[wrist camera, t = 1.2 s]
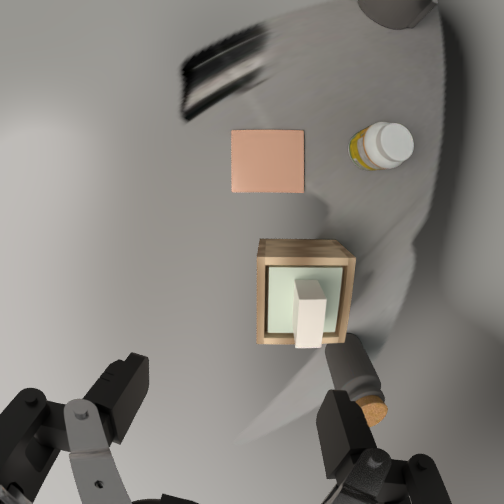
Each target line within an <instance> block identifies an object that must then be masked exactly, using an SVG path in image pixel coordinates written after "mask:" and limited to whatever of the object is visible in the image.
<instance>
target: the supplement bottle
mask: <svg viewBox="0 0 504 504" xmlns="http://www.w3.org/2000/svg"><path fill="white" fill-rule="evenodd" d="M413 149H414V142H413V138H412V135H411V134H410V132H409V131H408V129H407V128H406V127H404V126H403V125H401V124H398V123H388V122H378V123H375V124H373V125H371V126H369V127H367V128H365V129H363V130H362V131H360V132H358V133H356V134H355V135H354V136H353V137H352V138H351V140H350V142H349V145H348V152H349V156H350V158H351V160H352V162H353V163H354V164H355V165H356V166H357V167H359V168H360V169H363V170H367V171H371V170H381V169H392V168H395V167H397V166H399V165H400V164H401V163H402V162H403V161H404V160H406V159H408V158H409V157H410V156H411V154H412V152H413Z"/></svg>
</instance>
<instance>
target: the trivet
mask: <svg viewBox="0 0 504 504" xmlns="http://www.w3.org/2000/svg"><path fill="white" fill-rule="evenodd" d="M232 192H290V193H304V131H300V130H232Z"/></svg>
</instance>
